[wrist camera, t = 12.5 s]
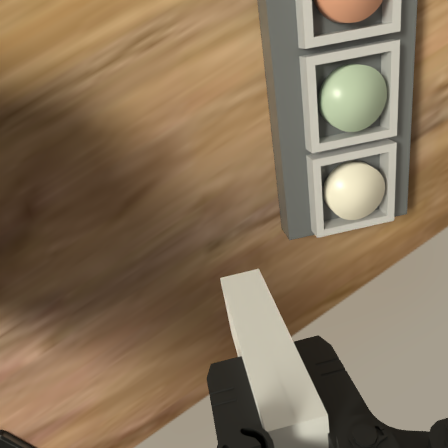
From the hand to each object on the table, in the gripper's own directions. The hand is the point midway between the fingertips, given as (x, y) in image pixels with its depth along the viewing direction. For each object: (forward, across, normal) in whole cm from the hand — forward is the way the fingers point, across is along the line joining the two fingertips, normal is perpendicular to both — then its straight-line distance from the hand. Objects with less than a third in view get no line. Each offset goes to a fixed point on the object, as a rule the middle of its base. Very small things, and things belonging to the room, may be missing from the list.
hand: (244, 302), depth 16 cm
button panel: (+29, +16, +1) cm, 33 cm away
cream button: (+26, +16, -8) cm, 31 cm away
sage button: (+26, +16, +1) cm, 30 cm away
